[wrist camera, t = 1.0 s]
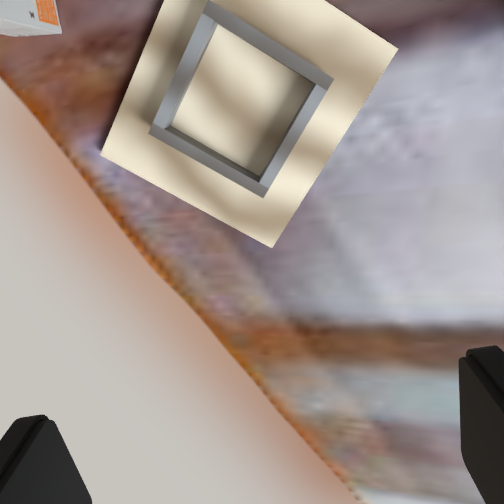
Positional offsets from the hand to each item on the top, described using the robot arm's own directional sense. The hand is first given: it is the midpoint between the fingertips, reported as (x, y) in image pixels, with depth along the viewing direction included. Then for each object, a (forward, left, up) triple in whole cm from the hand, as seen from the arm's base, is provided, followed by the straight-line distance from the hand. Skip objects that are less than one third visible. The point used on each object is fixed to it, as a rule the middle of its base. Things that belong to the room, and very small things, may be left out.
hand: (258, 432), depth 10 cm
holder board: (-3, -5, -32) cm, 32 cm away
